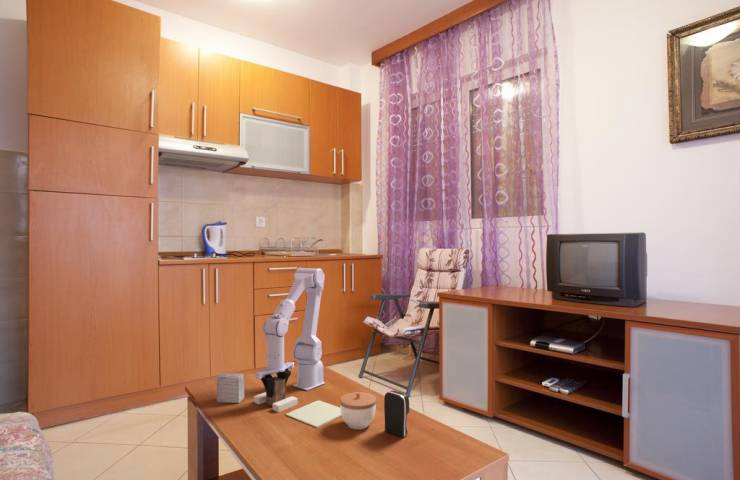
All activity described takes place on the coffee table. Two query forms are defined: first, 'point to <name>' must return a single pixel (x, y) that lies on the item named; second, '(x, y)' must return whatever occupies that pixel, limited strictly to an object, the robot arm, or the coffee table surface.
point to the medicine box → (230, 388)
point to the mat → (316, 413)
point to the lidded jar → (358, 409)
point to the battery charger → (396, 413)
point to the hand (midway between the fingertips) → (275, 394)
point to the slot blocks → (278, 405)
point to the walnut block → (277, 391)
